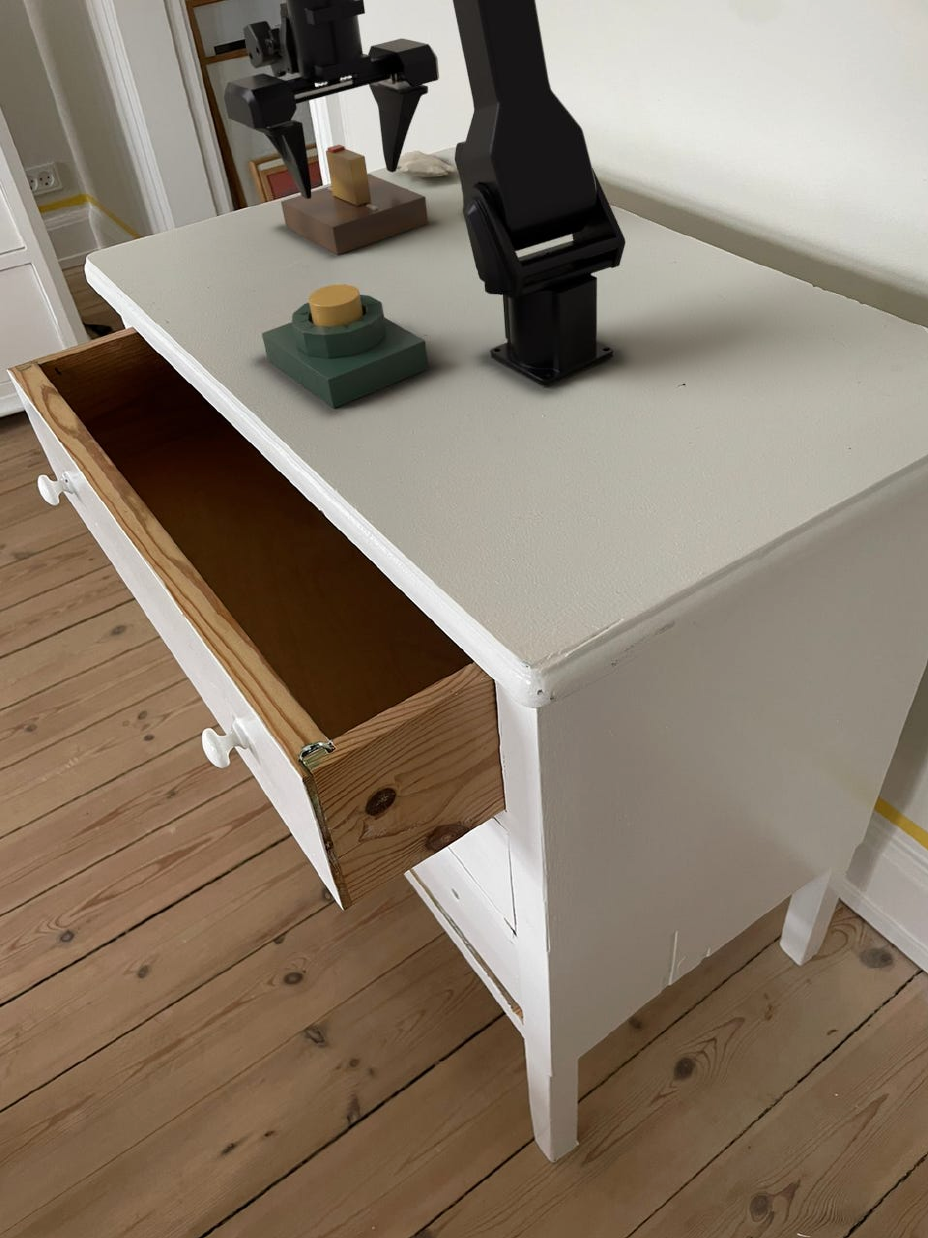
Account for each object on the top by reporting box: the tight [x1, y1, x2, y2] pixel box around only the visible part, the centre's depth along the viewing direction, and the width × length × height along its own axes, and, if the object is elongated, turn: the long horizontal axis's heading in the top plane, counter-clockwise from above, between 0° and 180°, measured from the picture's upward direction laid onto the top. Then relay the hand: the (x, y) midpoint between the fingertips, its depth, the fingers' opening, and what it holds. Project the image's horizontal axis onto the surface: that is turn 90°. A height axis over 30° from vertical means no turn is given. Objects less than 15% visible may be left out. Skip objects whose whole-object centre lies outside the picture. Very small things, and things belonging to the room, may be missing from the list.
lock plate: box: [280, 173, 429, 255], centre depth 92 cm, size 10×10×3 cm
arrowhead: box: [396, 150, 458, 178], centre depth 103 cm, size 7×2×10 cm
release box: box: [261, 294, 429, 409], centre depth 70 cm, size 10×8×4 cm
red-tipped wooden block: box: [325, 144, 371, 206], centre depth 90 cm, size 4×2×4 cm, turn 36°
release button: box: [308, 284, 363, 327], centre depth 69 cm, size 4×4×2 cm
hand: (350, 184), depth 90 cm, fingers open, 9 cm apart
